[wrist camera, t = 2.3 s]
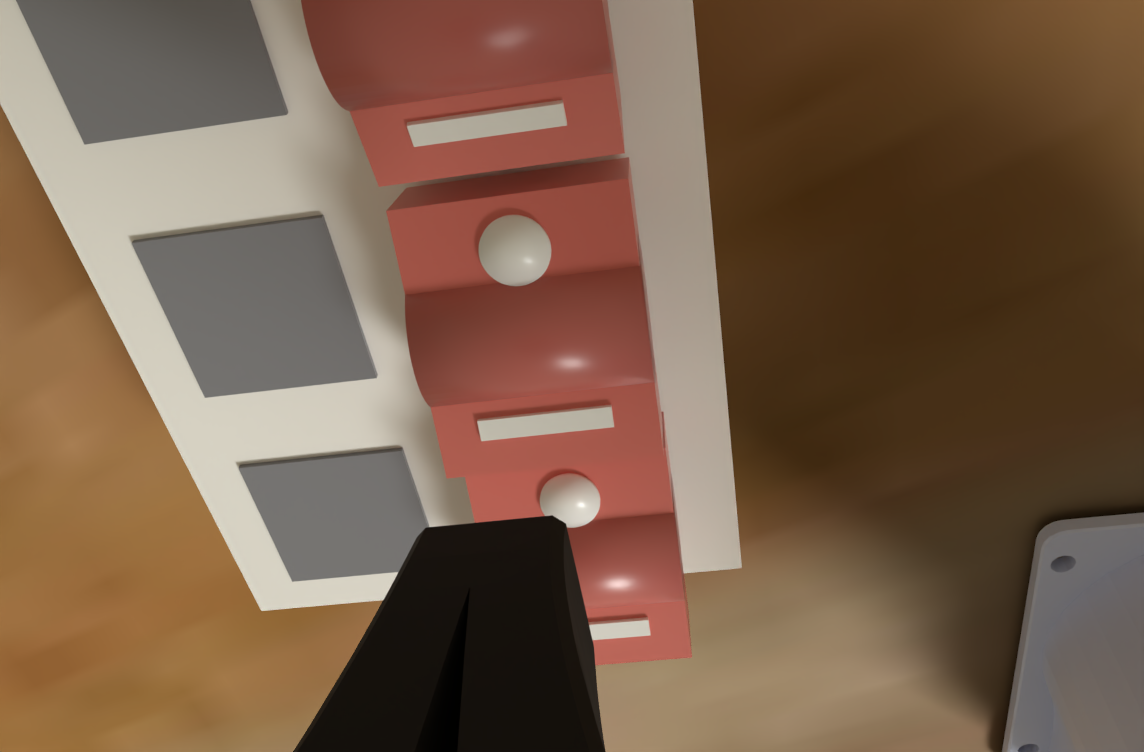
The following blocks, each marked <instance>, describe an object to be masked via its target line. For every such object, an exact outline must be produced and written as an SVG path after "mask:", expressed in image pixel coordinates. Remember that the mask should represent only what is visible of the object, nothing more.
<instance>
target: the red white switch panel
mask: <svg viewBox="0 0 1144 752" xmlns="http://www.w3.org/2000/svg"><path fill="white" fill-rule="evenodd" d="M607 1H608V9H609V17H610V24H611V31H612V38H613V45H614V52H615V59H616V66H617V72H618V79H619V86H620V93H621V106H622V120H623V134H624V148H625V153H623V154H616V155H608V156H601V157H594V158H586V159H579V160H572V161H565V162H557V163H550V164H543V165H535V166H528V167H521V168H513V169H506V170H499V171H492V172H484V173H477V174H470V175H462V176H455V177H448V178H440V179H433V180H426V181H419V182H411V183H404V184H397V185H389V186H382V187H379V186H378V183H377V181H376V178H375V176H374V173H373V171H372V168H371V165H370V163H369V160H368V158H367V155H366V153H365V150H364V147H363V145H362V142H361V140H360V137H359V135H358V132H357V129H356V127H355V124H354V122H353V119H352V117H351V114H350V111H347V110H345V109H343V108H342V107H341V106H340V105H339V104H338V103H337V102H336V100H335V99H334V98H333V96H332V94H331V93H330V91H329V89H328V87H327V85H326V83H325V81H324V79H323V77H322V75H321V72H320V70H319V67H318V64H317V62H316V59H315V56H314V53H313V50H312V47H311V43H310V40H309V36H308V32H307V28H306V24H305V20H304V15H303V10H302V4H301V0H0V104H1V106H2V108H3V110H4V112H5V114H6V116H7V118H8V120H9V122H10V124H11V126H12V128H13V129H14V131H15V133H16V135H17V137H18V139H19V141H20V143H21V145H22V147H23V149H24V151H25V153H26V155H27V157H28V159H29V161H30V163H31V164H32V166H33V168H34V170H35V172H36V174H37V176H38V178H39V180H40V182H41V184H42V186H43V188H44V190H45V192H46V194H47V196H48V197H49V199H50V201H51V203H52V205H53V207H54V209H55V211H56V213H57V215H58V217H59V219H60V221H61V223H62V225H63V227H64V229H65V230H66V232H67V234H68V236H69V238H70V240H71V242H72V244H73V246H74V248H75V250H76V252H77V254H78V256H79V258H80V260H81V262H82V264H83V265H84V267H85V269H86V271H87V273H88V275H89V277H90V279H91V281H92V283H93V285H94V287H95V289H96V291H97V293H98V295H99V297H100V298H101V300H102V302H103V304H104V306H105V308H106V310H107V312H108V314H109V316H110V318H111V320H112V322H113V324H114V326H115V328H116V330H117V331H118V333H119V335H120V337H121V339H122V341H123V343H124V345H125V347H126V349H127V351H128V353H129V355H130V357H131V359H132V361H133V363H134V364H135V366H136V368H137V370H138V372H139V374H140V376H141V378H142V380H143V382H144V384H145V386H146V388H147V390H148V392H149V394H150V396H151V398H152V399H153V401H154V403H155V405H156V407H157V409H158V411H159V413H160V415H161V417H162V419H163V421H164V423H165V425H166V427H167V429H168V431H169V432H170V434H171V436H172V438H173V440H174V442H175V444H176V446H177V448H178V450H179V452H180V454H181V456H182V458H183V460H184V462H185V464H186V465H187V467H188V469H189V471H190V473H191V475H192V477H193V479H194V481H195V483H196V485H197V487H198V489H199V491H200V493H201V495H202V497H203V498H204V500H205V502H206V504H207V506H208V508H209V510H210V512H211V514H212V516H213V518H214V520H215V522H216V524H217V526H218V528H219V530H220V532H221V533H222V535H223V537H224V539H225V541H226V543H227V545H228V547H229V549H230V551H231V553H232V555H233V557H234V559H235V561H236V563H237V565H238V566H239V568H240V570H241V572H242V574H243V576H244V578H245V580H246V582H247V584H248V586H249V588H250V590H251V592H252V594H253V596H254V598H255V599H256V601H257V603H258V605H259V607H260V609H261V611H266V610H277V609H288V608H299V607H311V606H322V605H333V604H344V603H355V602H367V601H378V600H384V598H385V596H386V595H387V593H388V591H389V589H390V587H391V585H392V583H393V582H394V580H395V578H396V576H397V574H398V572H399V570H400V568H401V567H402V565H403V563H404V561H405V559H406V557H407V555H408V553H409V551H410V549H411V547H412V546H413V544H414V542H415V540H416V538H417V537H418V535H419V534H420V533H421V532H422V531H423V530H424V529H425V528H426V527H437V526H447V525H457V524H468V523H475V521H474V517H473V512H472V507H471V503H470V498H469V494H468V489H467V484H466V480H465V477H458V478H448V479H447V478H446V473H445V469H444V464H443V460H442V456H441V451H440V447H439V442H438V438H437V434H436V429H435V425H434V420H433V416H432V412H431V407H430V406H429V405H428V404H427V403H426V402H425V400H424V398H423V396H422V394H421V392H420V390H419V387H418V384H417V381H416V378H415V375H414V371H413V367H412V363H411V358H410V353H409V347H408V340H407V332H406V321H405V292H404V288H403V284H402V279H401V275H400V270H399V266H398V261H397V257H396V253H395V248H394V244H393V239H392V235H391V231H390V226H389V222H388V217H387V213H386V210H387V209H388V208H389V207H390V206H391V205H392V204H393V202H394V201H395V200H396V199H397V198H398V197H399V195H400V194H401V193H402V192H403V191H404V190H405V189H406V188H408V187H415V186H422V185H430V184H437V183H444V182H452V181H459V180H466V179H474V178H481V177H488V176H496V175H503V174H510V173H517V172H525V171H532V170H539V169H547V168H554V167H561V166H569V165H576V164H583V163H591V162H598V161H605V160H613V159H620V158H627V157H629V160H630V168H631V176H632V184H633V192H634V199H635V207H636V215H637V223H638V231H639V239H640V244H641V250H642V257H643V264H644V271H645V279H646V287H647V295H648V303H649V312H650V321H651V330H652V340H653V350H654V358H655V366H656V373H657V381H658V389H659V397H660V405H661V412H664V420H665V428H666V436H667V443H668V451H669V459H670V467H671V474H672V480H673V486H674V493H675V501H676V509H677V517H678V526H679V535H680V545H681V555H682V563H683V571H684V573H692V572H704V571H715V570H726V569H737V568H742V565H741V554H740V542H739V531H738V519H737V507H736V496H735V484H734V473H733V461H732V450H731V438H730V426H729V415H728V403H727V392H726V380H725V368H724V357H723V345H722V334H721V322H720V310H719V299H718V287H717V276H716V264H715V253H714V241H713V229H712V218H711V206H710V195H709V183H708V171H707V160H706V148H705V137H704V125H703V113H702V102H701V90H700V79H699V67H698V56H697V44H696V32H695V21H694V9H693V0H607Z"/></svg>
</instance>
